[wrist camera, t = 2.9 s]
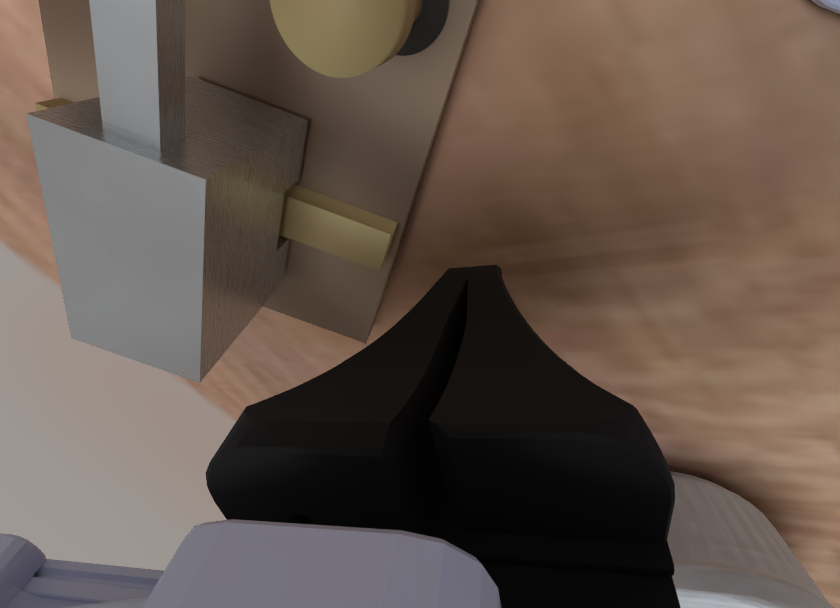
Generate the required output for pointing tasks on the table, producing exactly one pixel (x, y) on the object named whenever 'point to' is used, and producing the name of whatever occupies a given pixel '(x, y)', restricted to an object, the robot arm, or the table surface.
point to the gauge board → (317, 122)
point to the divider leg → (163, 196)
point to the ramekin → (732, 553)
